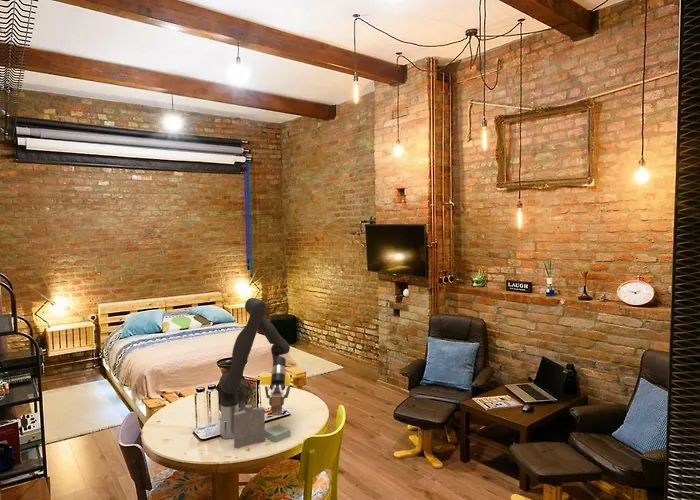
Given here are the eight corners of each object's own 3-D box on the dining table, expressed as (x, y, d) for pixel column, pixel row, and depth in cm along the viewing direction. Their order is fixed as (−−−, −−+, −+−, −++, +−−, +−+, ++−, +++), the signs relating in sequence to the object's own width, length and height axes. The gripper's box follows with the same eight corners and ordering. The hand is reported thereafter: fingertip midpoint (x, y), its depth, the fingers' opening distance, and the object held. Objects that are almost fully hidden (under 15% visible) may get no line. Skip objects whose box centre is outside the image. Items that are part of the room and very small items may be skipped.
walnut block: (281, 413, 244) (280, 396, 243) (271, 413, 244) (271, 396, 243) (281, 409, 249) (281, 393, 248) (272, 409, 248) (272, 393, 248)
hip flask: (235, 448, 234) (234, 410, 232) (233, 445, 237) (232, 407, 236) (265, 441, 241) (265, 404, 240) (263, 438, 245) (262, 401, 244)
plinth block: (275, 443, 240) (275, 436, 240) (263, 437, 247) (263, 429, 247) (290, 437, 247) (290, 429, 247) (279, 431, 254) (278, 423, 254)
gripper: (264, 372, 252) (261, 402, 241) (291, 372, 253) (289, 402, 241) (266, 378, 258) (263, 408, 246) (291, 378, 258) (290, 407, 247)
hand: (276, 405), depth 244 cm, fingers closed on walnut block, 5 cm apart
